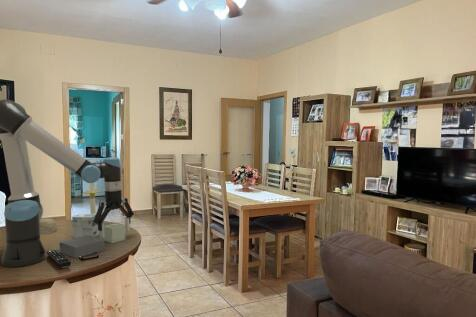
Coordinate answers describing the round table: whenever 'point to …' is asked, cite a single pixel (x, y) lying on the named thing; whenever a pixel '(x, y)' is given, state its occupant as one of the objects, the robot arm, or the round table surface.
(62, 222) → the round table surface
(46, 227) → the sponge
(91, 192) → the candle
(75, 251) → the base block
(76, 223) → the light bulb box
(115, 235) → the green cube
